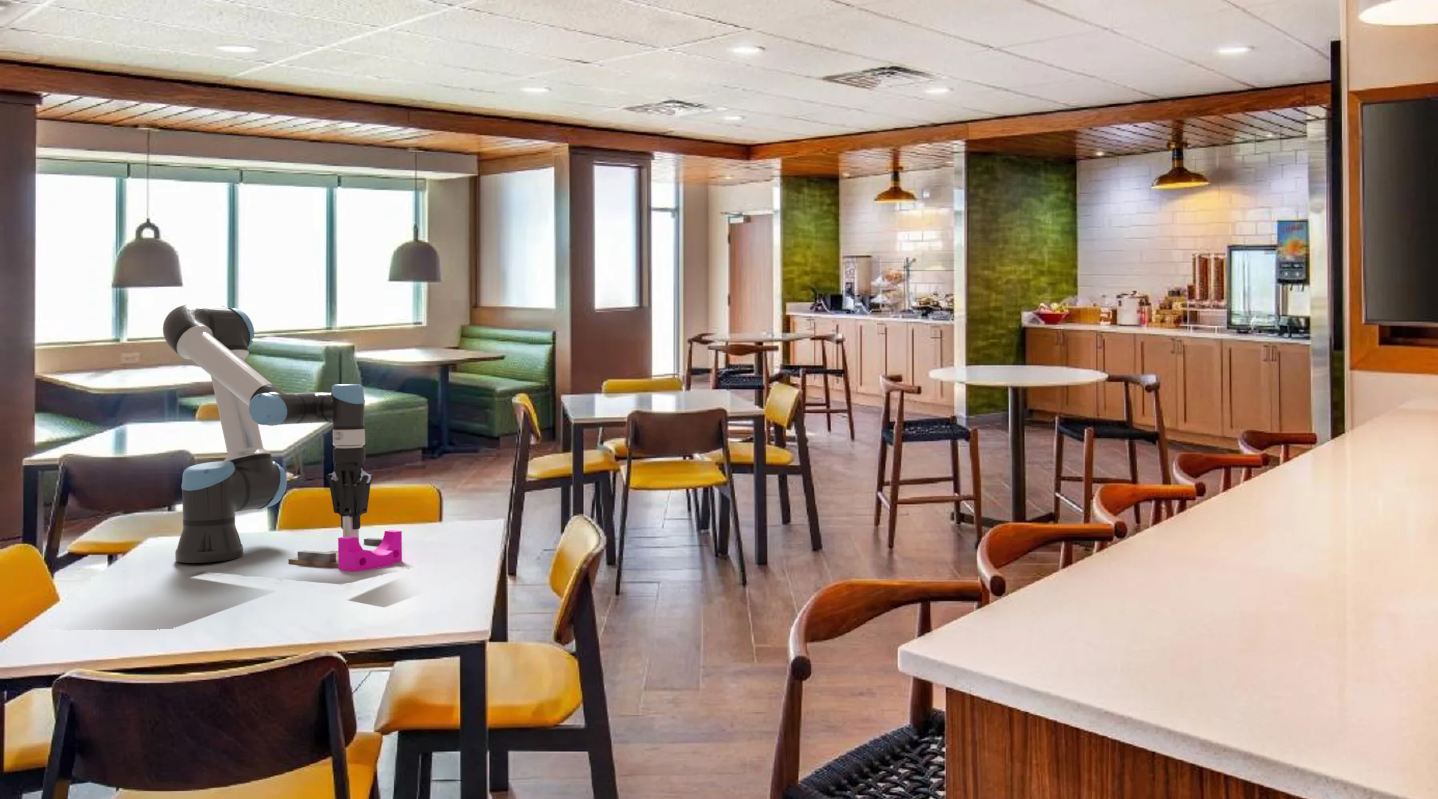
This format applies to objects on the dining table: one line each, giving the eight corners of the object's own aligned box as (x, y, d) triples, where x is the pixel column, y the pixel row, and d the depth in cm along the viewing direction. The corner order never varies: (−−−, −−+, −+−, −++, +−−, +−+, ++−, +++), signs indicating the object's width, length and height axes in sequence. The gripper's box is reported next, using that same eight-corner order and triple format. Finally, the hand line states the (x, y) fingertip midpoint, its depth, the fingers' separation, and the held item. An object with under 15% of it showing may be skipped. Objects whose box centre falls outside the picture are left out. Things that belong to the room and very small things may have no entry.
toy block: (355, 572, 242) (354, 539, 242) (338, 570, 246) (338, 537, 246) (408, 563, 255) (408, 531, 255) (392, 560, 258) (391, 529, 258)
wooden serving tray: (288, 563, 254) (288, 550, 254) (360, 548, 276) (360, 537, 276) (339, 567, 248) (339, 554, 248) (409, 552, 269) (409, 540, 269)
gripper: (315, 447, 261) (317, 543, 261) (360, 448, 255) (362, 546, 255) (338, 445, 268) (340, 539, 268) (382, 446, 262) (384, 541, 262)
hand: (351, 542), depth 262 cm, fingers closed
